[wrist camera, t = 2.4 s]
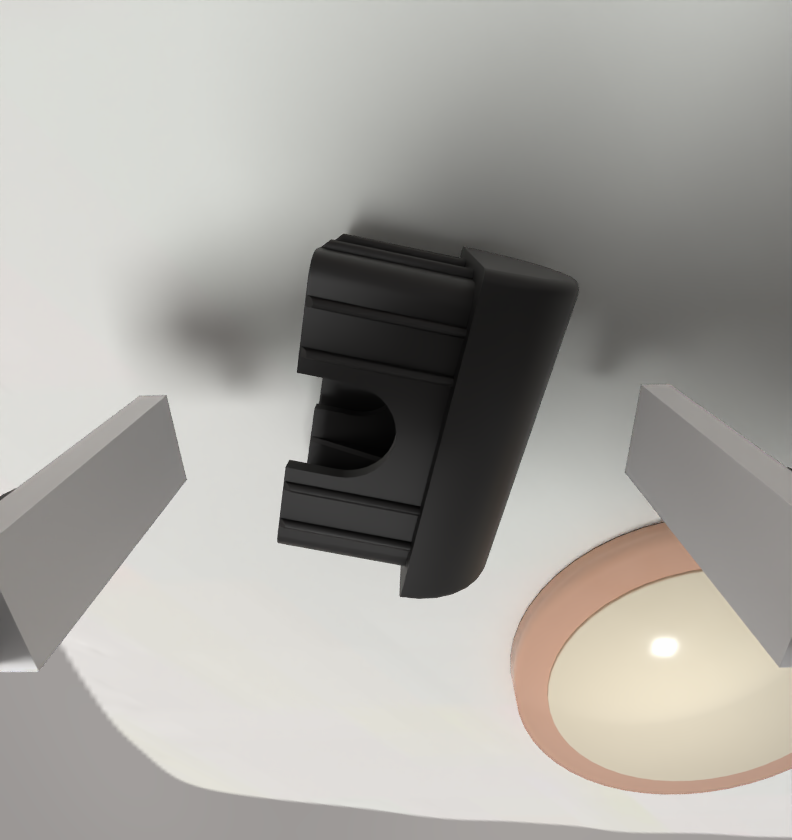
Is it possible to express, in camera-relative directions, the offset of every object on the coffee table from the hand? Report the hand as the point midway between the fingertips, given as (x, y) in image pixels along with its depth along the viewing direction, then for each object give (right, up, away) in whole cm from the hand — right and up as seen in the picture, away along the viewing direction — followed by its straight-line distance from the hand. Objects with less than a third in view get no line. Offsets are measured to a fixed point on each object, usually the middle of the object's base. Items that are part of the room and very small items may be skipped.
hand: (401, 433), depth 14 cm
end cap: (+1, +2, +5) cm, 6 cm away
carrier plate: (+14, -11, +11) cm, 21 cm away
